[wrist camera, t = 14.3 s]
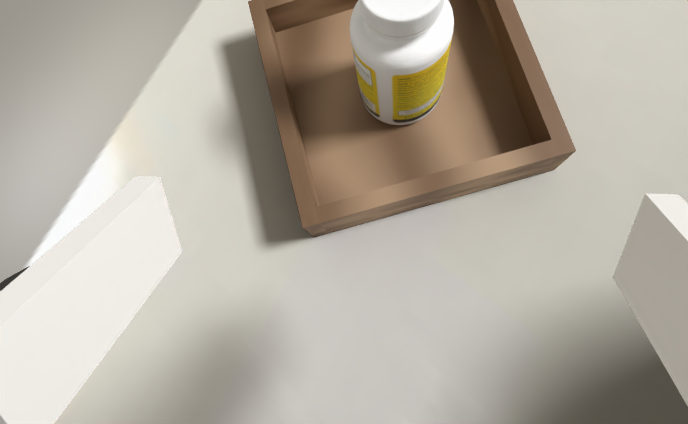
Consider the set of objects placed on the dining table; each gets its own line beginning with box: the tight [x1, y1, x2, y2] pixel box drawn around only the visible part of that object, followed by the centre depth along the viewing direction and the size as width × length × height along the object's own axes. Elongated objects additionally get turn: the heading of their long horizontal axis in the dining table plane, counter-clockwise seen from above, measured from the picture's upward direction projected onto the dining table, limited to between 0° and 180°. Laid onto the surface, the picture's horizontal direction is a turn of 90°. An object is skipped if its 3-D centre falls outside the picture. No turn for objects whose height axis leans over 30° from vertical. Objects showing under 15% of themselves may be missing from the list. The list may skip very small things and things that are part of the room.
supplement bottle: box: [350, 0, 454, 125], centre depth 24 cm, size 5×5×10 cm
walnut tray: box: [248, 0, 576, 237], centre depth 28 cm, size 16×16×4 cm
